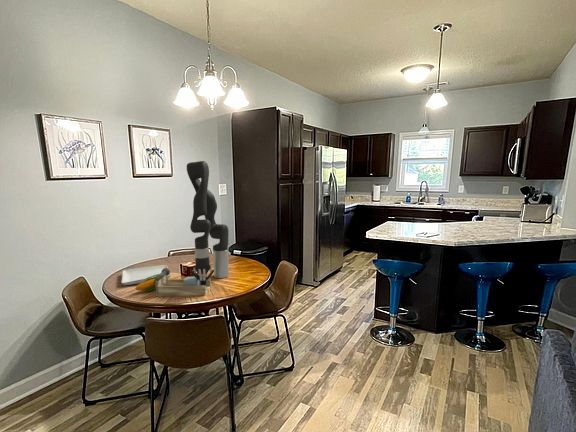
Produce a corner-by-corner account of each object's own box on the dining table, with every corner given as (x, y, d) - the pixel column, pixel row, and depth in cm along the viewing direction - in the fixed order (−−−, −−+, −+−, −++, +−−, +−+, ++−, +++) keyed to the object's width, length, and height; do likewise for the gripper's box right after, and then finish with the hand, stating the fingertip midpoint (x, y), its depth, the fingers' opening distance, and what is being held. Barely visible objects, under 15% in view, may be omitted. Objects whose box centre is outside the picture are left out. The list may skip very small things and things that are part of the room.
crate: (187, 286, 172) (187, 276, 171) (200, 286, 172) (199, 276, 171) (183, 291, 165) (183, 280, 165) (196, 291, 165) (196, 280, 165)
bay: (163, 287, 176) (161, 268, 174) (211, 286, 176) (210, 267, 175) (153, 296, 162) (151, 275, 161) (205, 295, 163) (204, 274, 161)
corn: (170, 272, 179) (139, 282, 162) (172, 284, 180) (140, 296, 163) (162, 271, 183) (130, 280, 166) (163, 283, 184) (132, 294, 166)
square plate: (122, 275, 200) (122, 269, 200) (167, 269, 212) (166, 264, 212) (121, 288, 176) (121, 281, 176) (171, 280, 189) (171, 274, 188)
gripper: (215, 254, 170) (217, 284, 173) (191, 254, 170) (193, 284, 172) (213, 257, 163) (214, 288, 165) (187, 258, 163) (189, 289, 165)
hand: (203, 286), depth 169 cm, fingers closed
